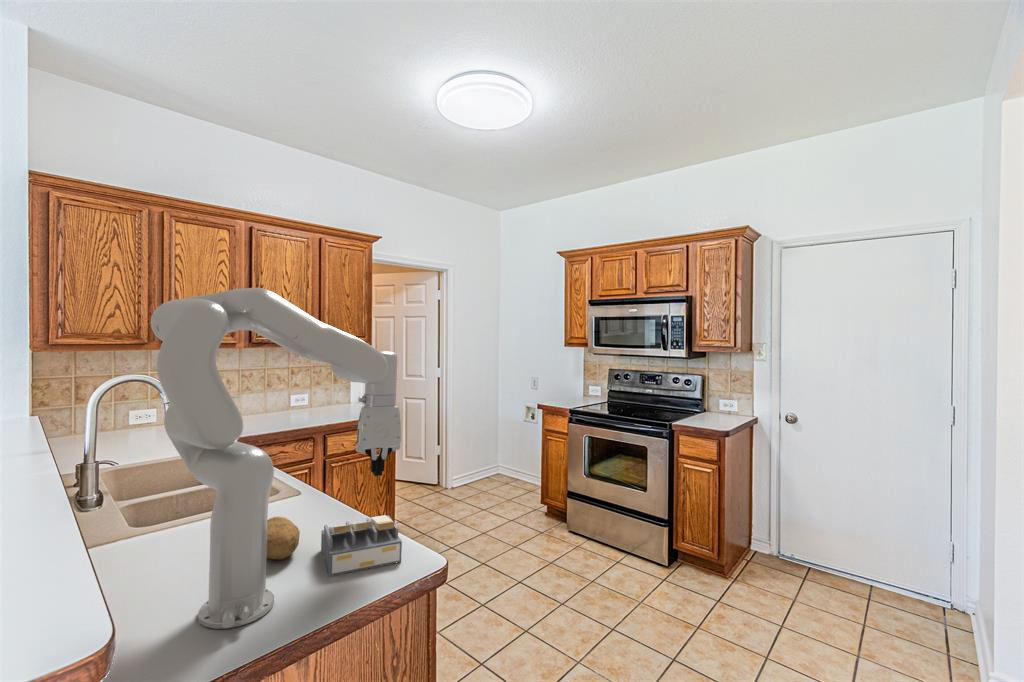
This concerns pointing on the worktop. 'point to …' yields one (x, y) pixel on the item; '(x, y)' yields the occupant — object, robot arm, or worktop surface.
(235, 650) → the worktop surface
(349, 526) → the rocker
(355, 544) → the box
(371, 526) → the rocker
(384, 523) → the block
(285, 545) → the potato
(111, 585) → the worktop surface
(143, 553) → the worktop surface
